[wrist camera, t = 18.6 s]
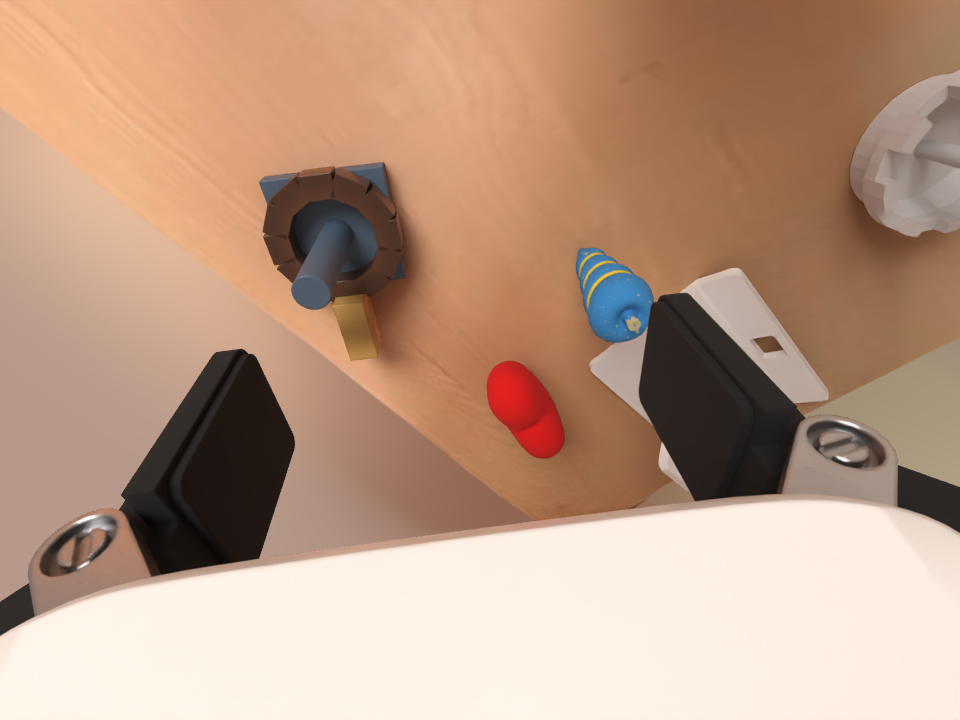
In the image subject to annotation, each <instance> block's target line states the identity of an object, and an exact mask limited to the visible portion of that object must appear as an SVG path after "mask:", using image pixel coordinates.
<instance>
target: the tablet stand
mask: <svg viewBox="0 0 960 720" xmlns="http://www.w3.org/2000/svg"><path fill="white" fill-rule="evenodd" d="M680 293H688V294H690V295H691V296H692V297H693V298H694V300H695V301H696V302H697V303H698V304H699V305H700V306H701V307H702V308H703V309H704V310H705V311H706V312H707V313H708V314H709V315H710V316H711V317H712V318H713V319H714V320H715V321H716V322H717V324H718V325H719V326H720V327H721V328H722V329H723V330H724V331H725V332H726V333H727V334H728V335H729V336H730V337H731V338H732V339H733V340H734V341H735V342H736V343H737V344H738V345H739V346H740V348H741V349H742V350H743V351H744V352H745V353H746V354H747V355H748V356H749V357H750V358H751V359H752V360H753V361H754V362H755V363H756V364H757V365H758V366H759V367H760V368H761V369H762V370H763V372H764V373H765V374H766V375H767V376H768V377H769V378H770V379H771V380H772V381H773V382H774V383H775V384H776V385H777V386H778V387H779V388H780V389H781V390H782V391H783V392H784V393H785V394H786V396H787V397H788V398H789V399H790V400H791V401H792V402H793V403H804V402H816V401H825V400H828V389H827V388H826V387H825V385H824V384H823V382H822V381H821V380H820V378H819V377H818V375H817V374H816V373H815V371H814V370H813V368H812V367H811V366H810V364H809V363H808V362H807V360H806V359H805V357H804V356H803V355H802V353H801V352H800V350H799V349H798V348H797V346H796V345H795V343H794V342H793V341H792V339H791V338H790V337H789V335H788V334H787V332H786V331H785V330H784V328H783V327H782V325H781V324H780V323H779V321H778V320H777V318H776V317H775V316H774V314H773V313H772V311H771V310H770V309H769V307H768V306H767V305H766V303H765V302H764V300H763V299H762V298H761V296H760V295H759V293H758V292H757V291H756V289H755V288H754V286H753V285H752V284H751V282H750V281H749V280H748V278H747V277H746V275H745V274H744V273H743V271H742V270H741V269H738V268H730V269H727V270H724V271H721V272H718V273H715V274H712V275H709V276H706V277H703V278H699V279H696V280H695V281H694V282H692V283H691V284H690V285H689V286H687V287H686V288H685V289H683V290H682V291H681V292H680ZM647 328H648V327H647ZM647 328H646V330H645V332H644V333H643V334H642V335H641V336H639V337H637V338H635V339H633V340H630V341H627V342H621V343H614V344H612V345H611V346H610V347H609V348H607V349H606V350H605V351H603V352H602V353H601V354H600V355H598V356H597V357H596V358H594V359H593V360H592V361H591V362H590V363H589V368H590V370H591V372H592V373H593V374H594V375H595V376H596V377H597V378H599V379H600V380H601V381H602V382H603V383H604V384H605V385H607V386H608V387H609V388H610V389H611V390H612V391H614V392H615V393H616V394H617V395H618V396H619V397H621V398H622V399H623V400H624V401H625V402H626V403H627V404H629V405H630V406H631V407H632V408H633V409H634V410H636V411H637V412H638V413H639V414H640V415H641V416H643V417H644V418H645V419H646V420H647V421H648V422H649V423H651V421H650V419H649V417H648V415H647V414H646V412H645V410H644V408H643V406H642V405H641V402H640V399H639V383H640V376H641V369H642V363H643V356H644V349H645V342H646V335H647ZM766 336H774V337H775V338H776V340H777V341H778V342H779V344H780V345H781V346H782V348H783V349H784V350H780V351H774V352H769V353H765V352H763V351H762V350H761V348H760V347H759V346H758V344H757V343H756V342H755V341H754V339H755V338H760V337H766ZM651 424H652V423H651ZM652 425H653V424H652ZM659 467H660V469H661V471H662V472H663V473H665V474H666V475H667V476H668V477H670V478H671V479H672V480H674V481H675V482H676V483H677V484H679V485H680V486H681V487H682V488H684V489H685V490H686V491H687V492H689V493H690V491H689V489H688V488H687V486H686V484H685V482H684V480H683V479H682V477H681V475H680V473H679V471H678V470H677V468H676V466H675V464H674V462H673V461H672V459H671V457H670V455H669V453H668V452H667V450H666V448H665V446H664V444H663V443H661V449H660V455H659ZM690 494H691V493H690Z"/></svg>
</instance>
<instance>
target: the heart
mask: <svg viewBox="0 0 960 720" xmlns="http://www.w3.org/2000/svg"><path fill="white" fill-rule="evenodd" d="M487 397H488V402H489V405H490V408H491V410H492V412H493V413H494V415H495V416H496V417H497V418H498V419H499V420H500V421H501V422H502V423H503V424H504V425H506V426H507V427H508V428H509V430H510V431H511V432H512V434H513V435H514V437H515V438H516V439H517V441H518V442H519V443H520V445H521V446H522V447H523V448H524V449H525V450H526V451H527V452H528V453H529V454H530V455H532V456H534V457H536V458H550V457H552V456H554V455H556V454H557V453H558V452H559V451H560V450H561V448H562V447H563V444H564V440H565V435H564V429H563V425H562V422H561V419H560V416H559V413H558V411H557V409H556V406H555V404H554V402H553V400H552V398H551V397H550V395H549V393H548V392H547V390H546V389H545V387H544V386H543V385H542V383H541V382H540V381H539V380H538V379H537V378H536V377H535V375H534V374H533V373H531V372H530V371H529V370H528V369H527V368H526V367H525V366H523V365H522V364H520V363H517V362H514V361H505V362H502V363H500V364H498V365H497V366H495V367H494V368H493V369H492V371H491V372H490V374H489V377H488V381H487Z"/></svg>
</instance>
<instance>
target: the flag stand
mask: <svg viewBox="0 0 960 720" xmlns="http://www.w3.org/2000/svg"><path fill="white" fill-rule="evenodd" d="M850 183H851V187H852V190H853V192H854V194H855V195H856V196H857V197H858V198H859V200H860V201H862V202H864V205H865V207H866V209H867V211H868V214H869V215H870V216H871V217H872V218H873V219H874V220H875V221H876V222H878V223H880V224H882V225H884V226H886V227H888V228H891V229H893V230H895V231H897V232H900V233H902V234H904V235H907V236H912V237H918V236H919V234H920V233H921V232H923V231H928V230H933V229H935V230H937V231H939V232H942V233H944V234H946V233H949V232H952V231H955V230H957V229H960V70H958V71H956V72H953V73H951V74H942V75H938V76H933V77H930V78H928V79H925V80H923V81H921V82H918V83H917V84H915V85H913V86H912V87H910V88H908V89H906V90H905V91H903V92H902V93H901V94H900V95H898V96H897V97H896V98H894V99H893V100H892V101H891V102H890V103H889V104H888V105H887V106H886V107H885V108H884V109H883V110H882V111H881V112H879V113H878V115H877V116H876V117H875V118H874V120H873V121H872V122H871V123H870V125H869V126H868V127H867V129H866V131H865V132H864V134H863V136H862V137H861V139H860V141H859V143H858V145H857V147H856V150H855V152H854V155H853V158H852V162H851V166H850Z"/></svg>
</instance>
